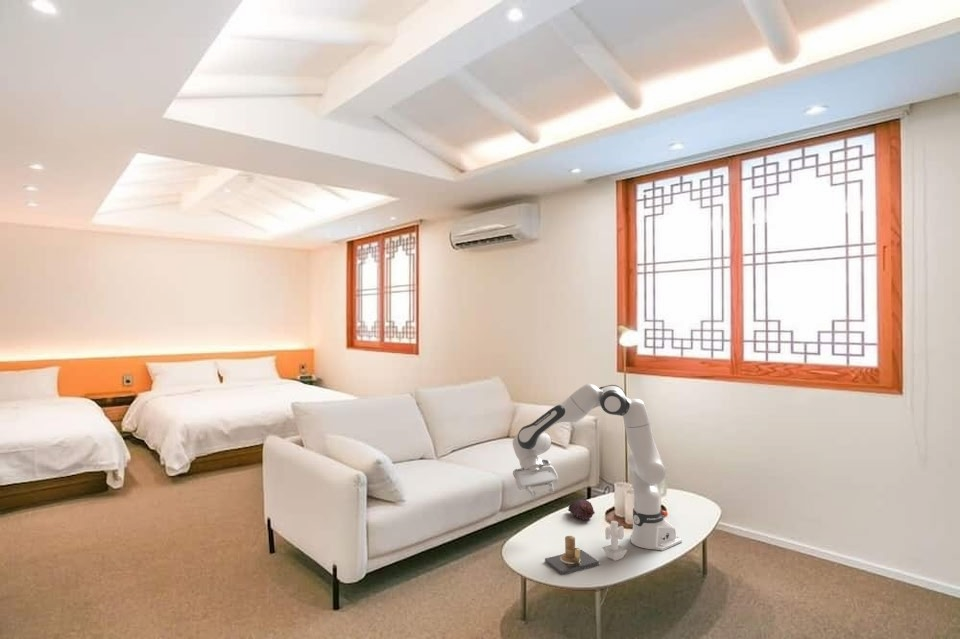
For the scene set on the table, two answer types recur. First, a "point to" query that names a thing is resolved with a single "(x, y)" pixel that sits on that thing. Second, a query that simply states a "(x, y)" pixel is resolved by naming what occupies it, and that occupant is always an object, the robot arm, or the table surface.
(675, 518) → the table surface
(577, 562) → the dowel
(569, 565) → the base plate
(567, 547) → the flange hub
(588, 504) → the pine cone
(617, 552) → the figurine
